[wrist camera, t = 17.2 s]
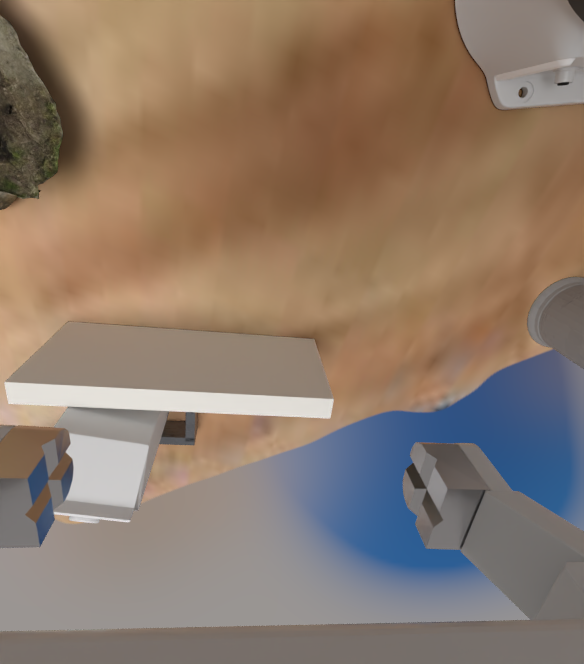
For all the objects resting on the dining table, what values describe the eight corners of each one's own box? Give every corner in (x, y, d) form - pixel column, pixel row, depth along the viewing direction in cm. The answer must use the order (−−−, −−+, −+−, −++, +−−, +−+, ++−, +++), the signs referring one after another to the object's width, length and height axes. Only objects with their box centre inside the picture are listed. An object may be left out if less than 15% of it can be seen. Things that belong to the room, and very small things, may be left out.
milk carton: (112, 342, 44) (22, 469, 26) (180, 354, 45) (135, 484, 28) (107, 397, 46) (21, 545, 29) (170, 407, 48) (124, 555, 30)
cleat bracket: (199, 351, 45) (196, 364, 42) (197, 428, 49) (194, 445, 46) (75, 343, 43) (63, 356, 41) (83, 424, 48) (73, 441, 45)
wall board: (314, 338, 46) (333, 399, 35) (311, 354, 46) (330, 418, 36) (68, 321, 42) (4, 382, 31) (69, 338, 43) (8, 403, 32)
